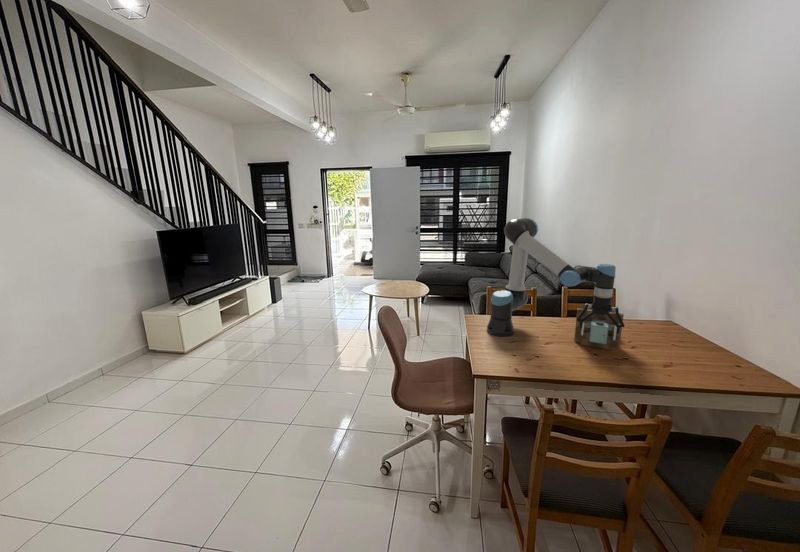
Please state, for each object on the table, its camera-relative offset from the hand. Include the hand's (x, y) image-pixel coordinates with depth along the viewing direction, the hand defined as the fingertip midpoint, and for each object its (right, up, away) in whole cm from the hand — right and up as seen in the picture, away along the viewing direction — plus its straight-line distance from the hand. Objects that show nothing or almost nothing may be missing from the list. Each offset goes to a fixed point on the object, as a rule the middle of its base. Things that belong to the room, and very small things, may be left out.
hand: (597, 336), depth 158 cm
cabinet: (+1, -2, +2) cm, 3 cm away
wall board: (+3, -5, +7) cm, 9 cm away
